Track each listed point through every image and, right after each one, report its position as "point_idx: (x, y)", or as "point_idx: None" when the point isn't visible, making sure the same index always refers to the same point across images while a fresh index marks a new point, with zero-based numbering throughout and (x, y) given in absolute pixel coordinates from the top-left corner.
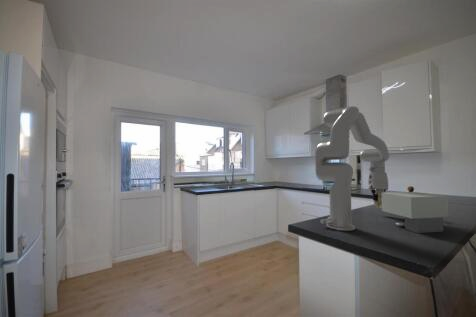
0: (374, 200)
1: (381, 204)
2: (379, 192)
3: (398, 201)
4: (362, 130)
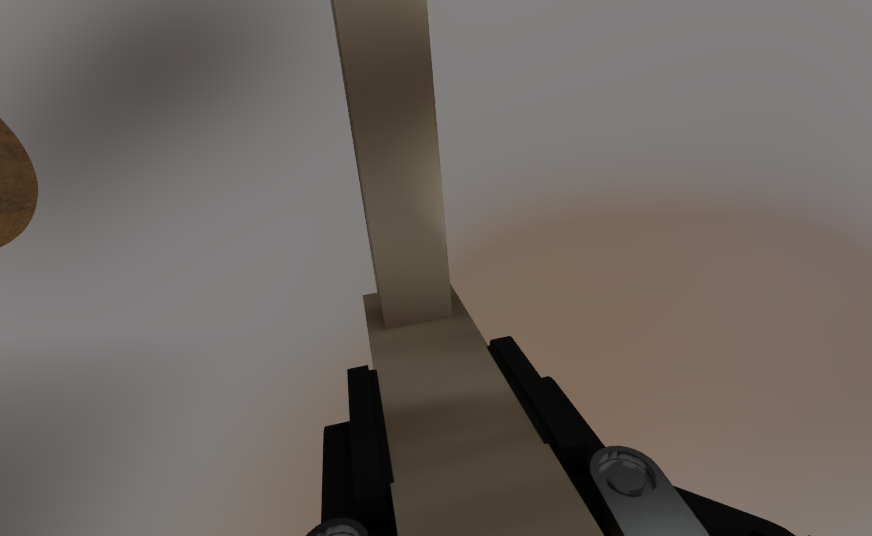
0: None
1: (446, 253)
2: (518, 529)
3: None
4: None
